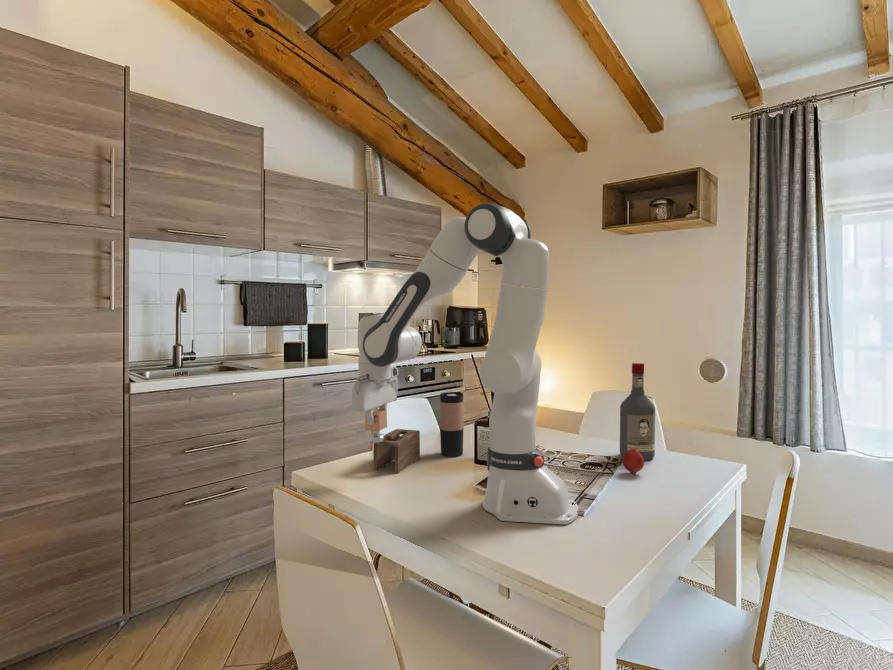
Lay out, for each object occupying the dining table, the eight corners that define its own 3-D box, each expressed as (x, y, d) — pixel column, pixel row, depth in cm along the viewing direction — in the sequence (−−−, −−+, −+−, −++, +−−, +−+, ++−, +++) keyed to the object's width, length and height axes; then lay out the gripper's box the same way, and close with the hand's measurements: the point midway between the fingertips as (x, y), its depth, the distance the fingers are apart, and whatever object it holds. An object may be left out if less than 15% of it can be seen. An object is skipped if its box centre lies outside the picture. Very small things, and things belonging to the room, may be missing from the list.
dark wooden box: (419, 458, 166) (419, 430, 166) (398, 473, 151) (397, 442, 151) (397, 456, 169) (396, 428, 169) (373, 470, 154) (373, 440, 154)
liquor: (617, 453, 171) (618, 362, 170) (643, 452, 172) (644, 362, 171) (629, 461, 162) (630, 365, 161) (657, 460, 163) (659, 365, 162)
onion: (622, 476, 148) (622, 448, 148) (622, 470, 153) (622, 443, 153) (644, 478, 146) (644, 449, 146) (643, 472, 152) (643, 444, 151)
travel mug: (437, 452, 174) (437, 392, 173) (459, 450, 176) (458, 391, 175) (444, 458, 166) (443, 396, 165) (466, 456, 169) (466, 395, 168)
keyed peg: (387, 439, 145) (386, 409, 145) (380, 443, 141) (379, 412, 141) (373, 438, 147) (372, 408, 147) (365, 442, 143) (364, 411, 142)
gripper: (366, 377, 132) (368, 431, 133) (400, 368, 152) (402, 416, 152) (344, 376, 135) (346, 429, 135) (381, 368, 154) (382, 415, 154)
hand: (376, 422), depth 144 cm, fingers closed on keyed peg, 4 cm apart
